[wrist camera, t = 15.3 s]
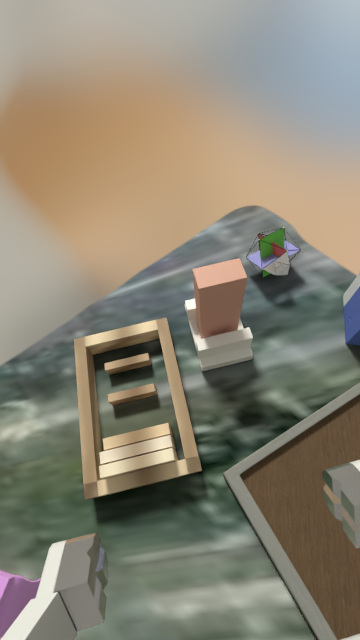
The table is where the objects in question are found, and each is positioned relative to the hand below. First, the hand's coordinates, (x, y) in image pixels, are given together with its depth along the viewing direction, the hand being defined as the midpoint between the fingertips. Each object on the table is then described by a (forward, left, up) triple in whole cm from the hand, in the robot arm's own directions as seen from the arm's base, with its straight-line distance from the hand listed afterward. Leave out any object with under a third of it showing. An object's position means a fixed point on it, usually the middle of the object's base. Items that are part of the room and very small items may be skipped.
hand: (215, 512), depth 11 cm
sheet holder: (+6, +19, -28) cm, 34 cm away
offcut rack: (-7, +12, -28) cm, 31 cm away
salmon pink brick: (+6, +19, -26) cm, 33 cm away
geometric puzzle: (+17, +28, -28) cm, 43 cm away
